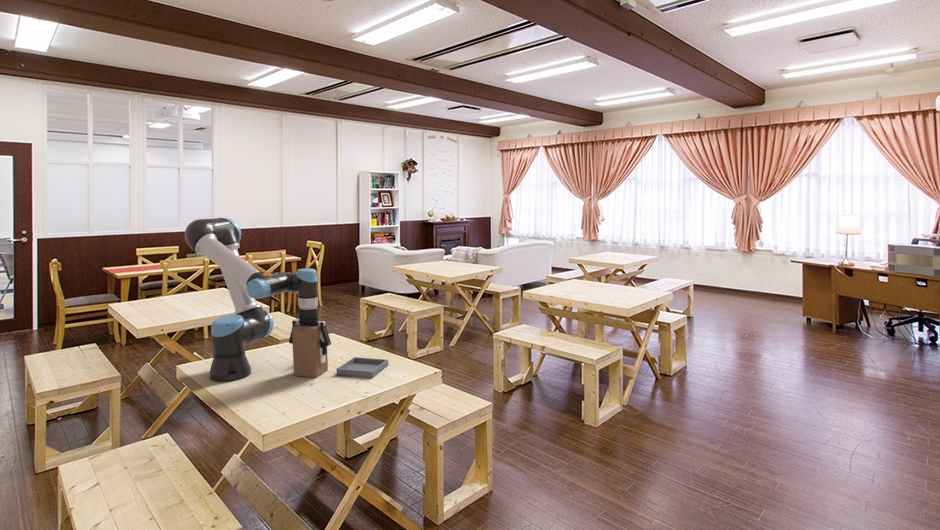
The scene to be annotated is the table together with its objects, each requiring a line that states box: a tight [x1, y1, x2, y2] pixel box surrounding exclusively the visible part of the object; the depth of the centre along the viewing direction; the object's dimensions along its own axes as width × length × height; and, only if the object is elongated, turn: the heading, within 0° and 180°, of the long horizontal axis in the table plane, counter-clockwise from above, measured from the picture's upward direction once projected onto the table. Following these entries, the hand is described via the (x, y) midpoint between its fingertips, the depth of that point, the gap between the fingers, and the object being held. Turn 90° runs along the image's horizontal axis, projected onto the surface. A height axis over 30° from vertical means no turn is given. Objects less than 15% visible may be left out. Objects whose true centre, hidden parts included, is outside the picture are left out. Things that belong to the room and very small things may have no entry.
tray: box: [336, 356, 389, 379], centre depth 212 cm, size 16×16×2 cm
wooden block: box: [291, 324, 329, 378], centre depth 208 cm, size 10×10×20 cm
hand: (310, 361), depth 208 cm, fingers closed on wooden block, 10 cm apart
